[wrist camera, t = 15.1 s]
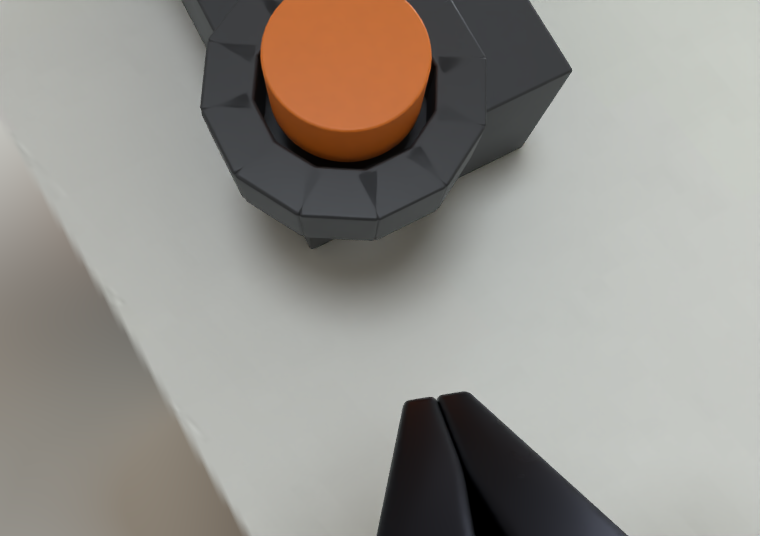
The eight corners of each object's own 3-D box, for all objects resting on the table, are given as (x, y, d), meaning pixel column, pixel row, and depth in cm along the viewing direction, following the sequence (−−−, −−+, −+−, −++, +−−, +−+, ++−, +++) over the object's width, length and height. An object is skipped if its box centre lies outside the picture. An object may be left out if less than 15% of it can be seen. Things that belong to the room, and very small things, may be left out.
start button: (311, 188, 15) (307, 160, 13) (243, 58, 16) (231, 15, 14) (450, 123, 16) (462, 87, 14) (378, -1, 16) (382, -49, 15)
